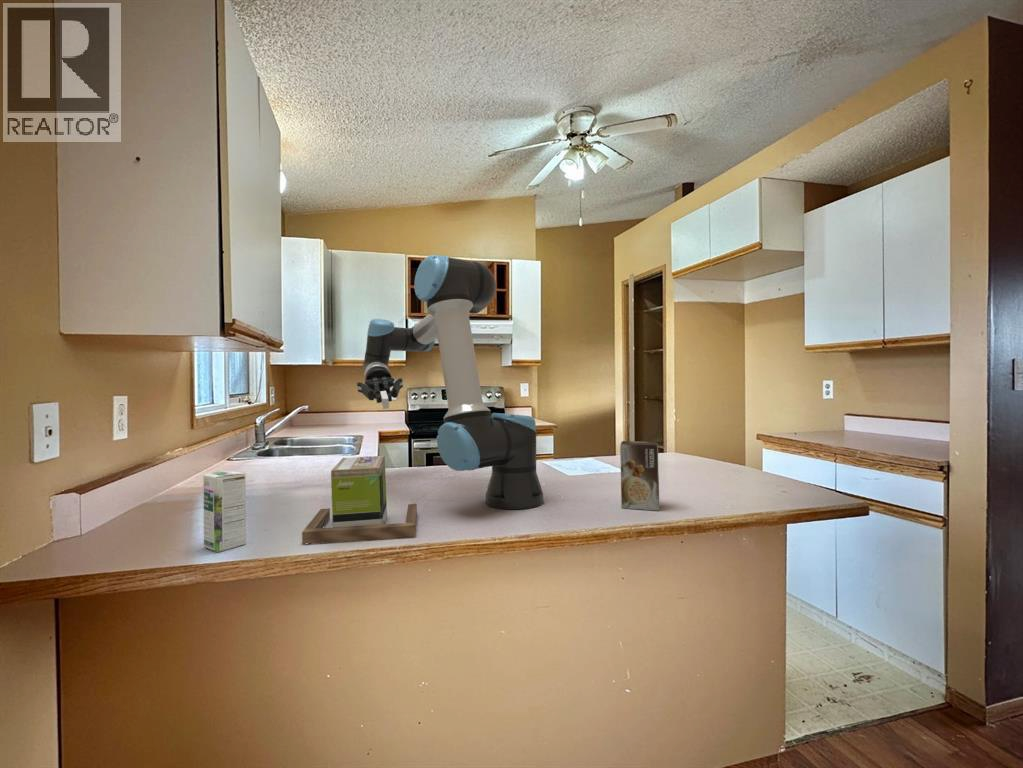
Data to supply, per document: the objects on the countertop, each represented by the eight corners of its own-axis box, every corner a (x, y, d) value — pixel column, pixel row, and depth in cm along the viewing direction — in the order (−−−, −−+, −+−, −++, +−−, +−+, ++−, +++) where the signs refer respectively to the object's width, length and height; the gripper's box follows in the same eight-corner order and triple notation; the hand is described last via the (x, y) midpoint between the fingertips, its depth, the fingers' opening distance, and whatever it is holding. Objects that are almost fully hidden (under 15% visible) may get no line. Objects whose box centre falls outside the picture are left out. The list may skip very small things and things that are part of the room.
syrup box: (202, 547, 97) (200, 474, 97) (233, 539, 102) (231, 469, 101) (217, 553, 94) (215, 477, 93) (248, 544, 99) (246, 471, 98)
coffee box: (660, 504, 125) (659, 441, 124) (659, 511, 119) (658, 444, 118) (623, 502, 128) (622, 440, 127) (620, 508, 122) (619, 443, 121)
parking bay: (416, 514, 119) (416, 503, 119) (415, 537, 101) (415, 525, 101) (320, 519, 115) (320, 508, 115) (302, 544, 98) (302, 532, 98)
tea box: (343, 519, 115) (342, 456, 115) (387, 516, 117) (386, 454, 117) (331, 540, 100) (330, 468, 100) (382, 537, 102) (381, 465, 102)
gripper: (401, 387, 151) (412, 414, 130) (356, 391, 147) (360, 420, 126) (399, 363, 149) (410, 387, 127) (354, 367, 145) (357, 392, 123)
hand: (385, 403), depth 127 cm, fingers closed
